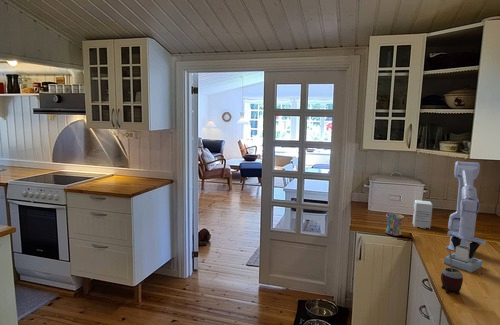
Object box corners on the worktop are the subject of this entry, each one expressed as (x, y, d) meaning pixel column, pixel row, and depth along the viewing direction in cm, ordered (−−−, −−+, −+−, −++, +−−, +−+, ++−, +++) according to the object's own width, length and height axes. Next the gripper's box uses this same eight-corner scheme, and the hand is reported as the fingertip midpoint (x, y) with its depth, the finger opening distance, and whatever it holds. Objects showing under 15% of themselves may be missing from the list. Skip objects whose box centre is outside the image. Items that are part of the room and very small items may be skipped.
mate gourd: (456, 297, 124) (460, 257, 122) (433, 288, 130) (437, 250, 128) (465, 292, 128) (469, 253, 126) (443, 283, 134) (447, 246, 132)
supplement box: (412, 223, 214) (414, 199, 212) (428, 224, 211) (430, 201, 209) (413, 227, 205) (416, 202, 203) (430, 229, 202) (433, 204, 200)
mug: (384, 230, 198) (386, 212, 196) (402, 233, 194) (404, 214, 192) (383, 236, 187) (384, 217, 186) (401, 239, 183) (403, 220, 182)
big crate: (455, 258, 160) (455, 252, 159) (481, 266, 151) (482, 260, 151) (443, 263, 153) (444, 257, 153) (470, 272, 145) (471, 266, 144)
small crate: (459, 257, 155) (461, 244, 154) (471, 261, 151) (473, 248, 150) (454, 259, 152) (456, 246, 151) (466, 263, 148) (468, 250, 147)
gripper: (445, 223, 153) (442, 252, 155) (482, 232, 142) (478, 263, 143) (452, 220, 157) (449, 249, 159) (489, 229, 146) (485, 260, 148)
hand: (463, 256), depth 152 cm, fingers closed on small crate, 5 cm apart
